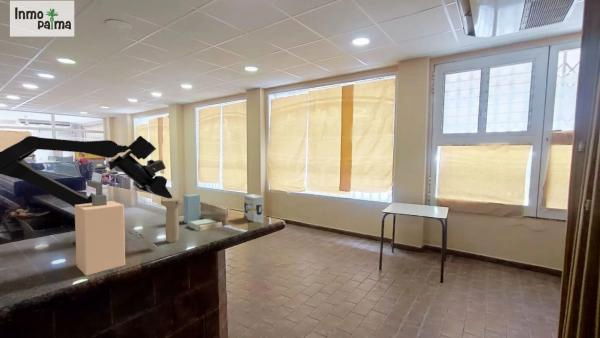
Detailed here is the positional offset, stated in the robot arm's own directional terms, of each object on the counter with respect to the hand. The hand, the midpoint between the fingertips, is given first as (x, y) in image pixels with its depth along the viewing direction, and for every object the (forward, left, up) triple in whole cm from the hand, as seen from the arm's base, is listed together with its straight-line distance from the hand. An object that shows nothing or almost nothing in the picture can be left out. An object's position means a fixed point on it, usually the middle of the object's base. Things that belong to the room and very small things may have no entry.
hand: (166, 196), depth 105 cm
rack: (+10, -8, -13) cm, 18 cm away
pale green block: (+5, -13, -11) cm, 18 cm away
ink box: (+24, -24, -13) cm, 36 cm away
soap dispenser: (-31, -9, -13) cm, 35 cm away
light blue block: (+9, -4, -13) cm, 16 cm away
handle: (-12, -15, -13) cm, 24 cm away
